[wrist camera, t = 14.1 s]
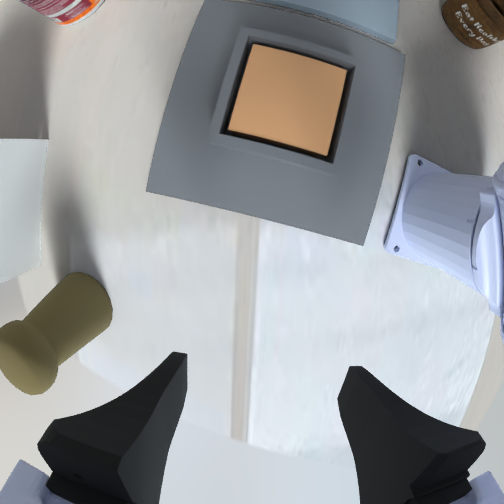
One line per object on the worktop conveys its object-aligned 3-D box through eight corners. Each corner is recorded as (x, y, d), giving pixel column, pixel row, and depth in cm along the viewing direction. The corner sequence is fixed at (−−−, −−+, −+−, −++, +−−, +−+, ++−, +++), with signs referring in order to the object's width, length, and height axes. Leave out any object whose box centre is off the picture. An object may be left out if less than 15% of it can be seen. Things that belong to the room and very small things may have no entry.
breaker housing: (401, 57, 17) (422, 43, 13) (359, 243, 21) (377, 256, 17) (207, 3, 16) (199, -21, 12) (149, 190, 20) (129, 194, 16)
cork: (73, 258, 21) (-15, 310, 11) (124, 304, 22) (54, 384, 12) (52, 302, 22) (-20, 360, 12) (96, 344, 23) (38, 419, 13)
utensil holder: (442, -7, 14) (505, -52, 2) (486, 31, 14) (555, 3, 3) (435, 22, 15) (511, -26, 4) (481, 63, 16) (564, 38, 4)
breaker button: (338, 79, 16) (346, 70, 14) (319, 157, 18) (326, 156, 16) (253, 55, 16) (253, 43, 14) (230, 134, 18) (228, 129, 16)
